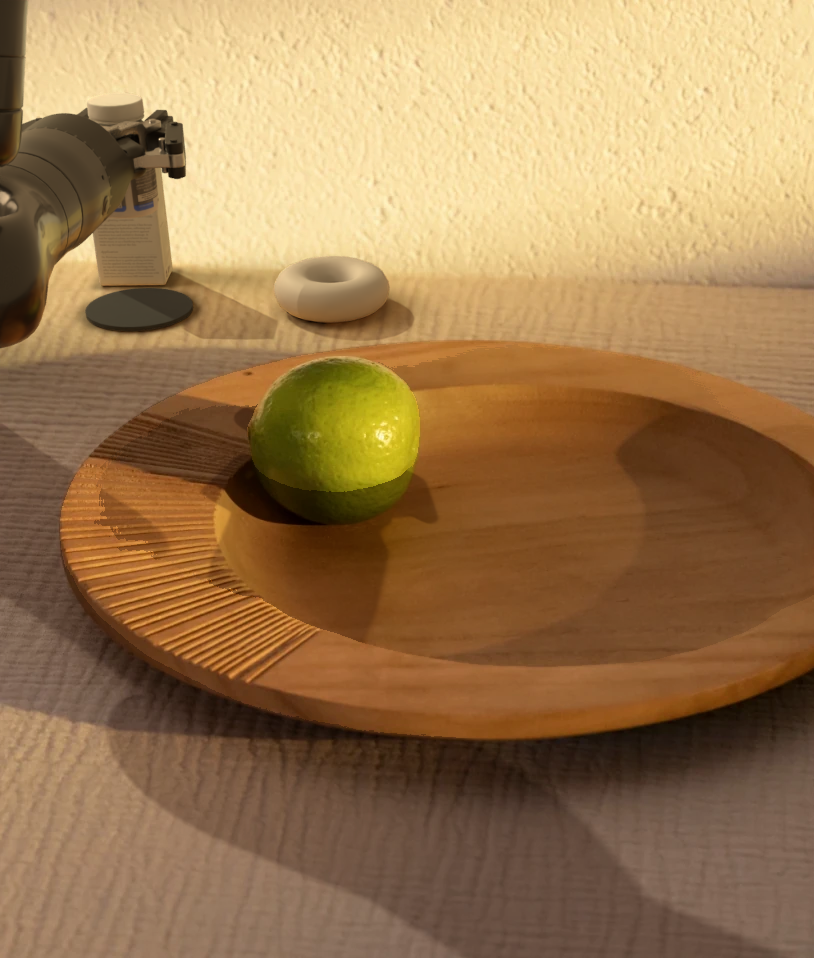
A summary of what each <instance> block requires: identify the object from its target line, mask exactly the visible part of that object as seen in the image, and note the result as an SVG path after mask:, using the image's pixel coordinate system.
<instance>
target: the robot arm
mask: <svg viewBox="0 0 814 958" xmlns="http://www.w3.org/2000/svg"><path fill="white" fill-rule="evenodd" d="M28 13H29V0H0V349H5V348H8V347H11V346H14V345H17V344H19V343H22V342H23V341H26V340H27V339H29V337H30V336H32V335H33V334H34V333H35V332H36V331H37V329H38V327H39V326H40V323H41V321H42V320H43V316H44V312H45V309H46V305H47V300H48V292H49V285H50V278H51V275H52V273H53V270H54V268H55V266H56V265H57V264H58V263H59V262H60V261H61V260H62V259H63V258H64V257H65V256H66V255H67V254H68V253H69V252H71V251H73V250H74V249H76V248H78V247H80V246H81V245H82V244H84V242H85V241H86V240H87V239H88V238H89V237H91V235H93V232H94V231H95V230H96V229H97V228H98V227H99V226H100V225H101V224H102V223H103V222H104V221H105V220H106V219H107V218H108V217H109V216H110V215H111V214H112V213H113V212H114V211H115V210H116V209H117V208H118V206H119V205H120V204H121V202H122V200H123V199H124V196H125V194H126V192H127V189H128V186H129V184H130V181H131V180H133V179H136V178H139V177H141V176H143V175H144V174H145V172H146V170H147V168H161V172H162V174H167V175H168V176H167V177H168V178H170V179H174V180H180V179H183V178H186V177H187V155H186V145H185V135H184V134H185V133H184V125H183V123H182V122H178V121H174V116H173V115H169V113H168V110H167V109H156V110H155V111H153V112H152V113H150V115H149V116H147V117H146V118H145V119H144V120H142V121H143V122H134V121H124V122H121V123H118V124H116V125H113V126H110V127H108V126H101V125H99V124H98V123H96V122H94V121H93V120H91V119H89V116H88V109H87V107H85V108H84V109H82V110H81V111H80V112H78V113H77V114H75V113H69V112H61V113H53V114H50V115H46V116H43V117H36V118H34V119H31V120H29V121H26V122H24V121H23V120H24V109H23V107H24V97H25V75H26V54H27V32H28V31H27V30H28Z"/></svg>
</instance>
